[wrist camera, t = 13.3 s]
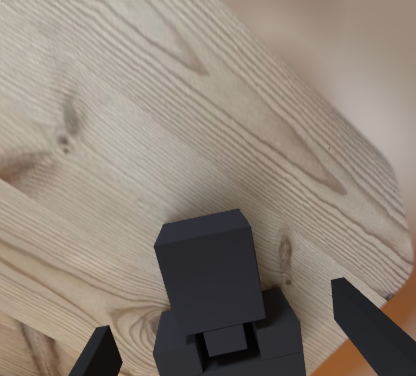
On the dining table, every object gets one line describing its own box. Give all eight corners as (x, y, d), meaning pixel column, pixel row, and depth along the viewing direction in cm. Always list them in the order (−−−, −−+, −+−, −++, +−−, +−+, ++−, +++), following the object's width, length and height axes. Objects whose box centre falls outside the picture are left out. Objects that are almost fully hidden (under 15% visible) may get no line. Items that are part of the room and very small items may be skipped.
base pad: (279, 287, 20) (299, 321, 16) (288, 350, 21) (309, 396, 17) (161, 312, 19) (152, 353, 16) (179, 374, 21) (175, 425, 17)
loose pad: (239, 208, 18) (250, 225, 14) (256, 305, 20) (270, 344, 16) (162, 224, 18) (153, 246, 14) (188, 320, 20) (186, 362, 16)
